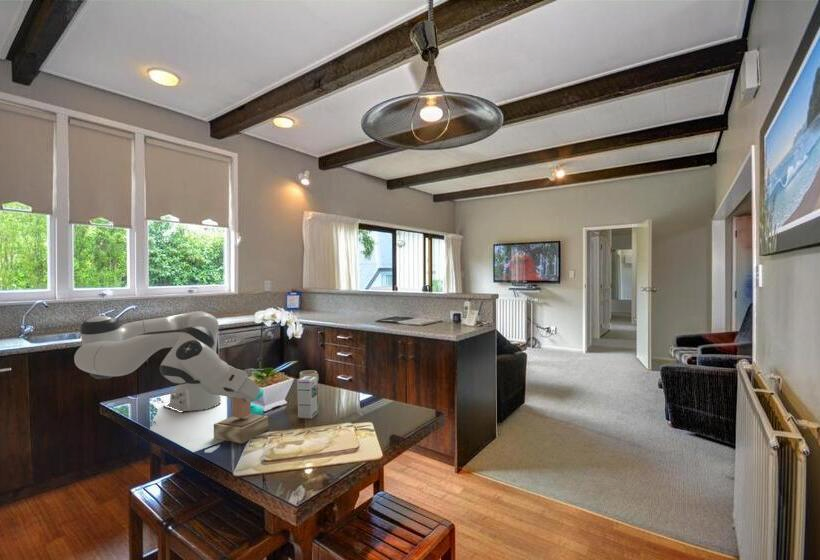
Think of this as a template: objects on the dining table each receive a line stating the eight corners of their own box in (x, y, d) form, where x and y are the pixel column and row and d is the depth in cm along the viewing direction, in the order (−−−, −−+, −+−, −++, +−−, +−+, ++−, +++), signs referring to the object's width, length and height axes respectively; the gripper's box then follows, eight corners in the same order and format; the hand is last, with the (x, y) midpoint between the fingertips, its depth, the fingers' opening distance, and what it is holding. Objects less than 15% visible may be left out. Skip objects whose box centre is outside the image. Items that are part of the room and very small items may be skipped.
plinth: (213, 438, 126) (213, 423, 126) (241, 425, 137) (241, 411, 137) (242, 443, 122) (242, 427, 122) (268, 429, 133) (268, 415, 133)
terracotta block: (232, 416, 128) (232, 390, 128) (241, 412, 132) (241, 386, 132) (241, 418, 127) (241, 391, 127) (250, 414, 131) (250, 387, 131)
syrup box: (311, 418, 143) (311, 380, 143) (297, 417, 144) (297, 379, 144) (318, 413, 149) (318, 376, 149) (304, 412, 150) (304, 375, 150)
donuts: (268, 388, 149) (247, 395, 140) (268, 414, 149) (247, 422, 140) (250, 385, 153) (228, 392, 144) (250, 410, 153) (229, 418, 144)
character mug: (312, 397, 168) (312, 368, 168) (324, 400, 164) (323, 370, 164) (292, 404, 159) (292, 373, 159) (303, 407, 155) (303, 376, 155)
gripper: (189, 383, 123) (214, 404, 132) (238, 390, 115) (261, 411, 125) (201, 366, 127) (224, 388, 136) (249, 371, 120) (271, 394, 129)
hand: (242, 399), depth 130 cm, fingers closed on terracotta block, 4 cm apart
